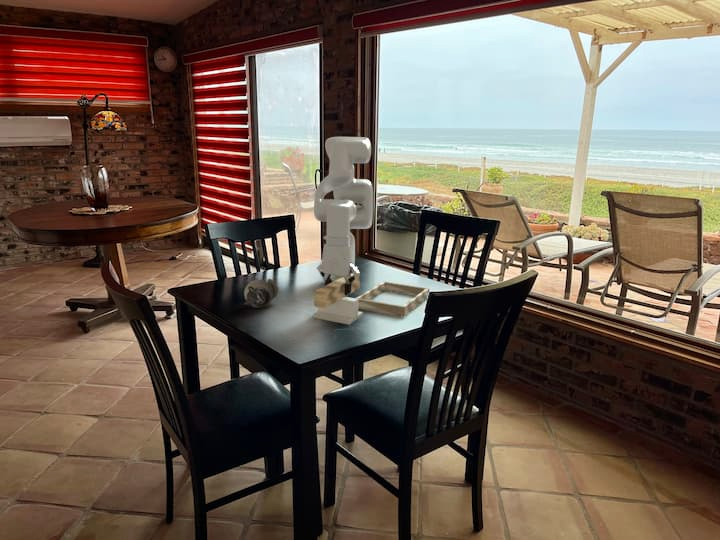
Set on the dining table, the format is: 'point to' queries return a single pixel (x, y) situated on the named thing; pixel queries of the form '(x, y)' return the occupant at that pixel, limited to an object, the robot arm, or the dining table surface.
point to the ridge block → (340, 311)
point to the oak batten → (333, 292)
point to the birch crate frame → (392, 309)
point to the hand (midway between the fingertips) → (338, 292)
